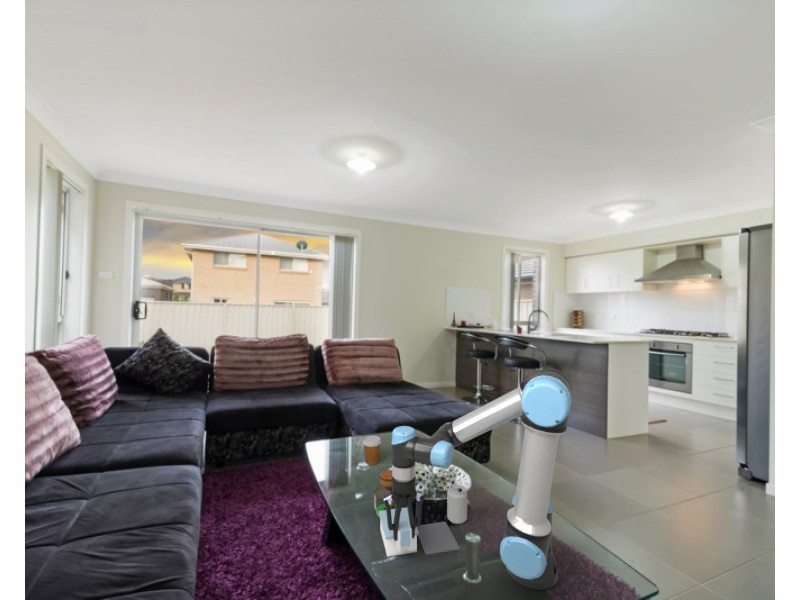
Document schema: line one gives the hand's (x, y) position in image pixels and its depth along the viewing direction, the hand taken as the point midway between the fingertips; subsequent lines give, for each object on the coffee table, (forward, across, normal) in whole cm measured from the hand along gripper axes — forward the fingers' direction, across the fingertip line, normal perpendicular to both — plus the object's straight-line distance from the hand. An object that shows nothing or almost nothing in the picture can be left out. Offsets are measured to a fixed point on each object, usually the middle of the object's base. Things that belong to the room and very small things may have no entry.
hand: (404, 548), depth 122 cm
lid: (-2, 0, -8) cm, 8 cm away
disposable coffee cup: (+4, 0, -71) cm, 71 cm away
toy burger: (+4, 0, -28) cm, 28 cm away
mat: (+4, -14, -8) cm, 16 cm away
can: (+4, -24, -17) cm, 30 cm away
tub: (+4, 0, -10) cm, 11 cm away
